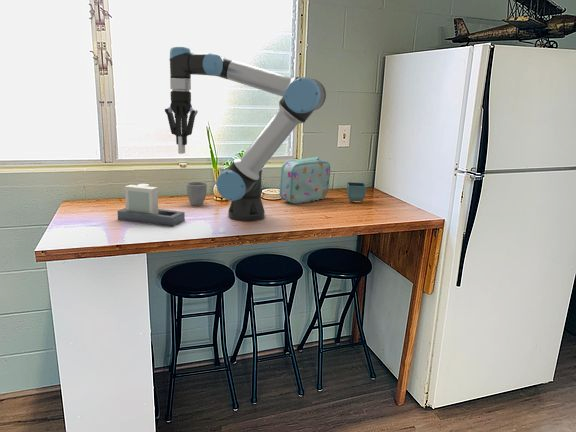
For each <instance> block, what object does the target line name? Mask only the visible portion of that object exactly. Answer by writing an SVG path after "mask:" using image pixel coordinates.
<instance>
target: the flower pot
mask: <svg viewBox="0 0 576 432" xmlns="http://www.w3.org/2000/svg"><path fill="white" fill-rule="evenodd" d="M367 188H368V186H367V185H366V184H365V182H353V181H351V182H350V181H347V182H346V193H347V198H348V200H349V202H350V201H362V202H363V201H364V199H365V197H366V193H367Z"/></svg>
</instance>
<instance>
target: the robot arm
mask: <svg viewBox="0 0 576 432" xmlns="http://www.w3.org/2000/svg"><path fill="white" fill-rule="evenodd" d="M169 73H170V78H169V83H170V90H171V91H170V101H171V102H170V104H169V107H168V108H164V112H165V114H166V116H167V120H168V124H169V129H170V132H171V135H173V136H174V135H175V141H176V145H178V150H177V151H178V154H180V155H182V154H186V145H188V136H191V135H192V133H193V129H194V125H195V119H196V116H197V114H198V113H199V112H198V110H196V109H194V108H193V106H192V105H193V104H192V93H191V91H190V90H192V85H191V84H192V82H191V81H192V78H191V77H192V75H194V76H195V75H197V76H211V77H219V78H222V79H224V80H229V81H232V82H235V83H239V84H241V85H244V86H247V87H250V88H253V89H258V90H260V91H263V92H267V93H270V94H272V95H273V94H274V95H276V96H279V97H281V99H280V100H279V102H278V106H279V107H278V110H277V111H276V112H275V113H274V115H273V116H272V117H271V119H270V120H269V121H268V122H267V124H266V125H265V126H264V128H263V129H262V130H261V132H259V134H258V135H257V136H256V138H255V139H254V141H253V142H252V143H251V144H250V146H249V147H248V148H247V149H246V150H245V152H244V153H243V155H242V156H241V157H239V158H234V160H233V161H232V162H231V163H230V165H229V166H228V168H227V169H226V170H223V171H222V172H221V173H220V174H219V175H218V176H217V179H216V182H215V183H216V189H217V192H218V193H219V195H220V196H221V197H222V198H224V200H226V201H227V200H228V201H231V203H230V205H229V208H228V212H227V213H228V215H227V216H228V217H229V219H232V220H236V221H244V222H245V221H246V222H249V221H250V222H251V221H252V222H253V221H258V220H259V221H260V220H262V219H264V218H265V215H266V214H265V213H266V212H265V208H264V205H263V202H262V201H263V200H262V177H263V176H262V175H263V174H262V173H263V170H262V169H263V168H264V167H265V165H266V164H267V163H268V162H269V160H270V159H271V158H272V157H273V156H274V154H275V153H276V152H277V151H278V149H279V148H280V147H281V146H282V144H283V143H284V142H285V141H286V140H287V138H288V136H290V135H291V133H292V132H293V131H294V130H295V128H296V127H297V125H299V124H305V122H306V121H307V120H308V118H309V117H310V116H312V114H313V113H314V112H315V111H317V110H319V109H320V108H321V107H322V106H323V105H324V104H325V102H326V99H327V98H326V97H327V92H326V88H325V86H324V85H323V83H321V82H320V80H318V79H314V78H310V77H299V76H295V77H290V76H286V75H283V74H280V73H276V72H273V71H270V70H266V69H263V68H260V67H257V66H254V65H251V64H250V65H249V64H246V63H244V62H239V61H236V60H235V59H234V60H232V59H230V58H228V57H225V56H222V55H220V54H218V53H212V52H210V53H195V52H194V53H193V52H191V49H190V48H189V47H188V46H187V47H186V46H172V47H170V49H169Z"/></svg>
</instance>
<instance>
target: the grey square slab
mask: <svg viewBox="0 0 576 432" xmlns="http://www.w3.org/2000/svg"><path fill="white" fill-rule="evenodd" d="M124 200H125V201H124V202H125V208H126V211H134V212H142V213H151V214H158V209H159V188H158V187H157V186H150V185H149V186H139V185H138V184H129V185H126V186H125V185H124Z"/></svg>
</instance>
